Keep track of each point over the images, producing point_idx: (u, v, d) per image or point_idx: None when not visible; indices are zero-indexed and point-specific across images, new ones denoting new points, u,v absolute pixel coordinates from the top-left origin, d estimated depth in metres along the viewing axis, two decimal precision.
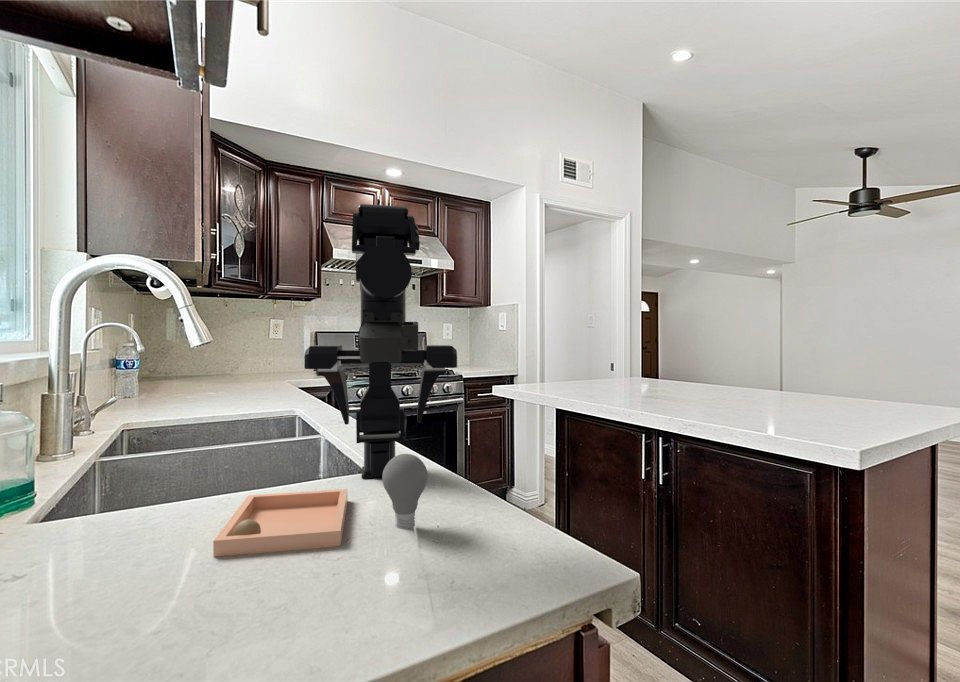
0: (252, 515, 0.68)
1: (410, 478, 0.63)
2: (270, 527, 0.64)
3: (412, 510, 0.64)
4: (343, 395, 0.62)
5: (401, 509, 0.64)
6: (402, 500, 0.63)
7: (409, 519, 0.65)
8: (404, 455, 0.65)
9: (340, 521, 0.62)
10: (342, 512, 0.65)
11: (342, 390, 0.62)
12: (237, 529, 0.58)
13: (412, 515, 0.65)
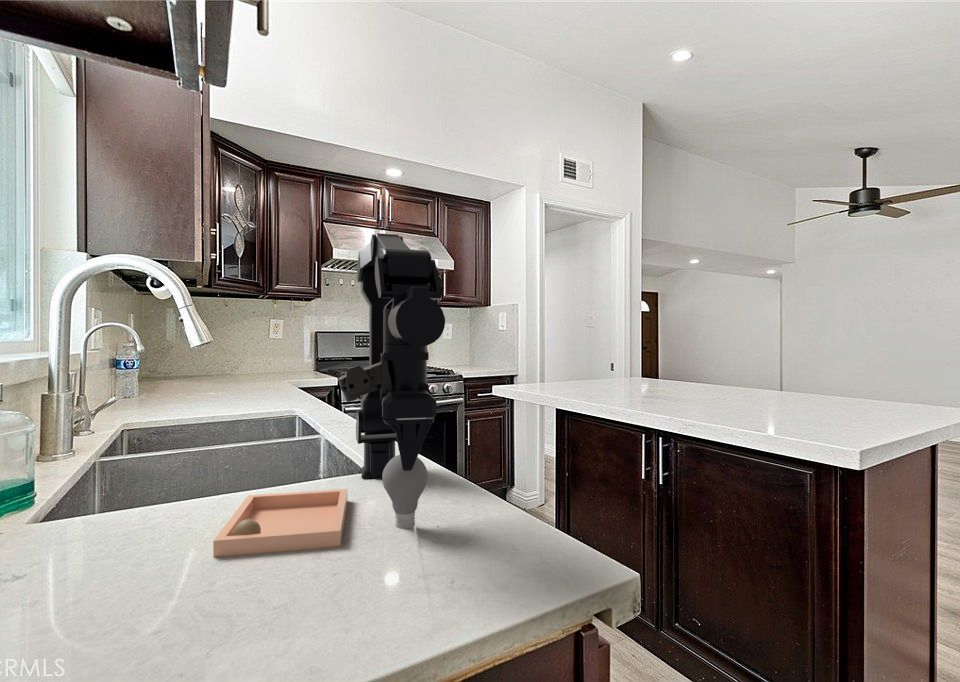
0: (252, 515, 0.68)
1: (410, 478, 0.63)
2: (270, 527, 0.64)
3: (412, 510, 0.64)
4: None
5: (401, 509, 0.64)
6: (402, 500, 0.63)
7: (409, 519, 0.65)
8: None
9: (340, 521, 0.62)
10: (342, 512, 0.65)
11: None
12: (237, 529, 0.58)
13: (412, 515, 0.65)
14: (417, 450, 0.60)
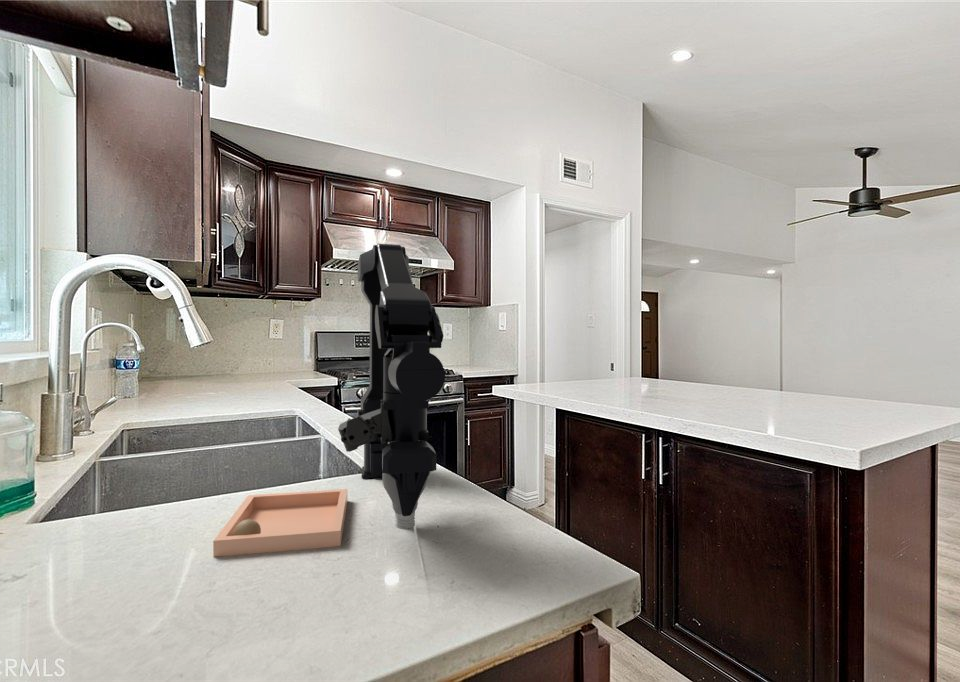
0: (252, 515, 0.68)
1: None
2: (270, 527, 0.64)
3: None
4: None
5: None
6: None
7: (409, 519, 0.65)
8: None
9: (340, 521, 0.62)
10: (342, 512, 0.65)
11: None
12: (237, 529, 0.58)
13: (412, 515, 0.65)
14: (416, 496, 0.62)
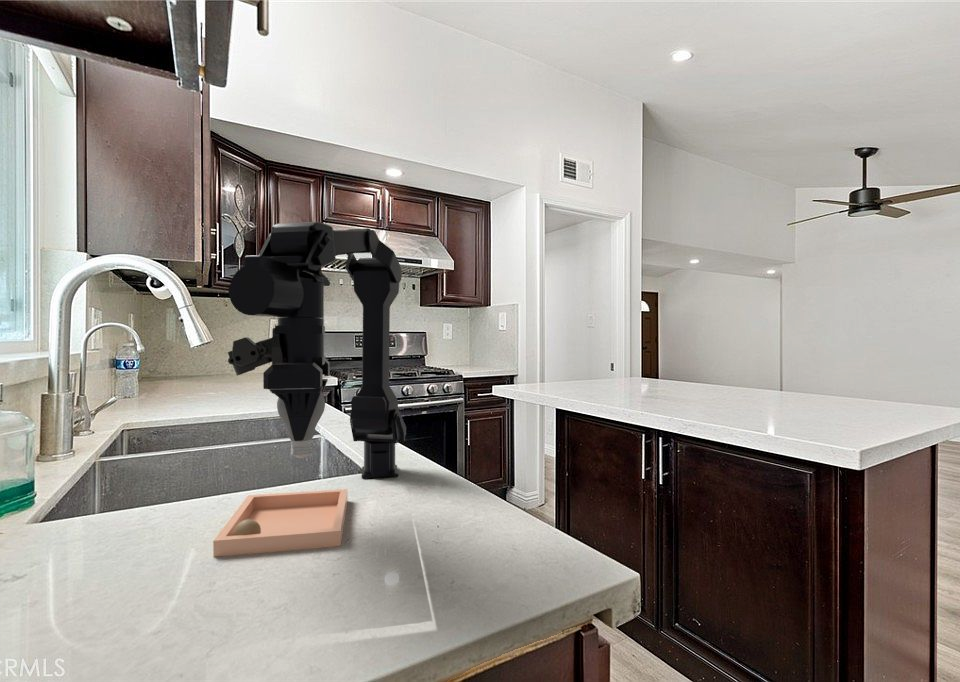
0: (252, 515, 0.68)
1: None
2: (270, 527, 0.64)
3: (307, 437, 0.64)
4: None
5: None
6: None
7: (304, 446, 0.64)
8: None
9: (340, 521, 0.62)
10: (342, 512, 0.65)
11: None
12: (237, 529, 0.58)
13: (308, 442, 0.64)
14: (307, 420, 0.61)
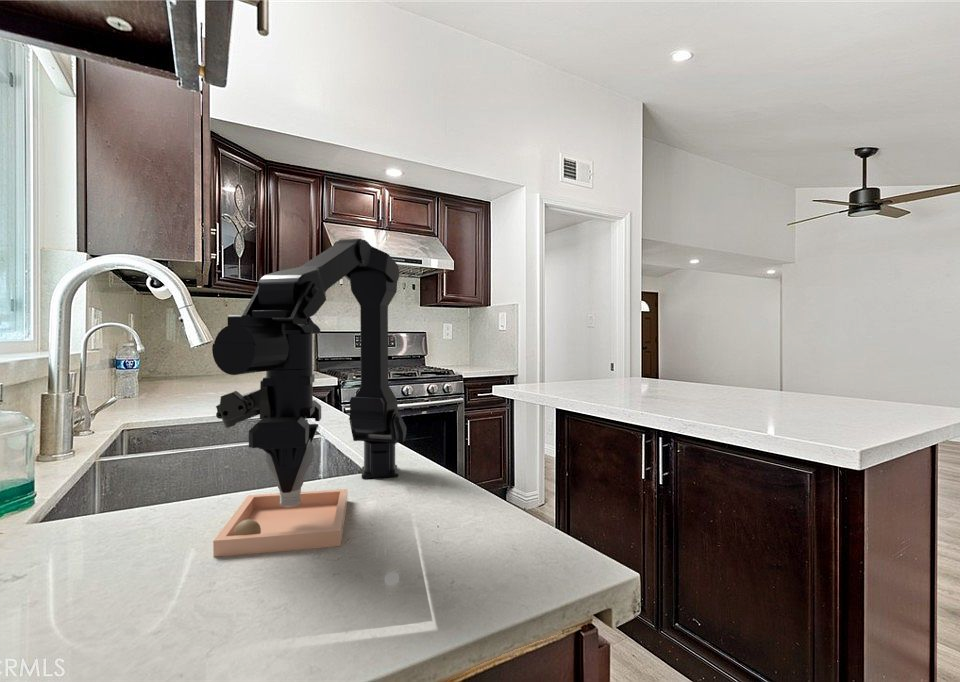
0: (252, 515, 0.68)
1: None
2: (270, 527, 0.64)
3: (295, 487, 0.64)
4: None
5: None
6: None
7: (293, 496, 0.64)
8: None
9: (340, 521, 0.62)
10: (342, 512, 0.65)
11: None
12: (237, 529, 0.58)
13: (296, 492, 0.65)
14: (295, 473, 0.62)
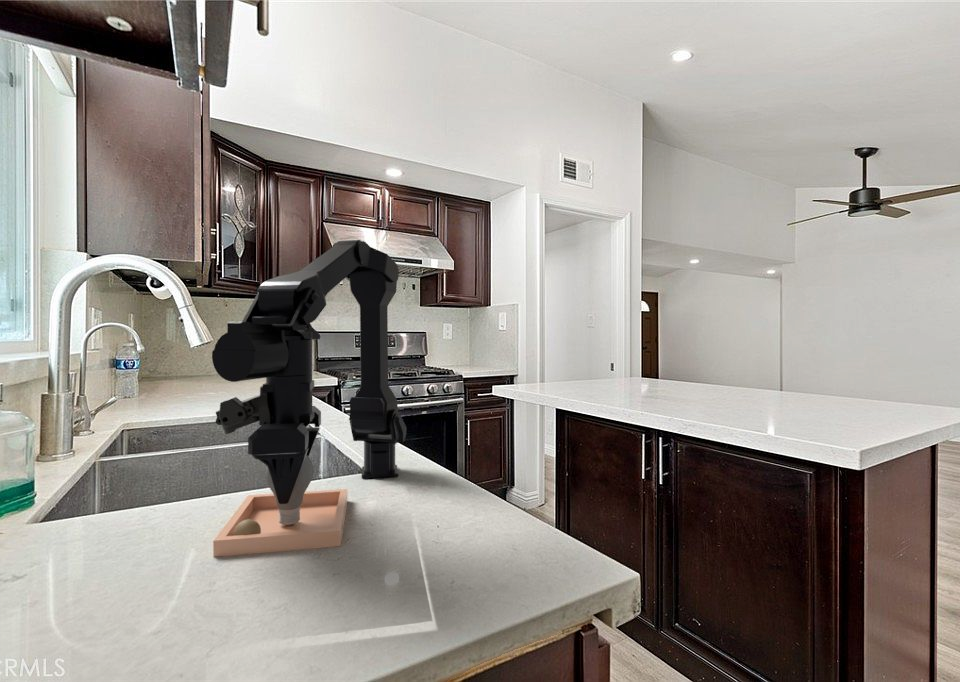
0: (252, 515, 0.68)
1: None
2: (270, 527, 0.64)
3: (295, 506, 0.64)
4: None
5: (283, 505, 0.64)
6: None
7: (292, 514, 0.64)
8: None
9: (340, 521, 0.62)
10: (342, 512, 0.65)
11: None
12: (237, 529, 0.58)
13: (295, 511, 0.65)
14: (292, 483, 0.60)
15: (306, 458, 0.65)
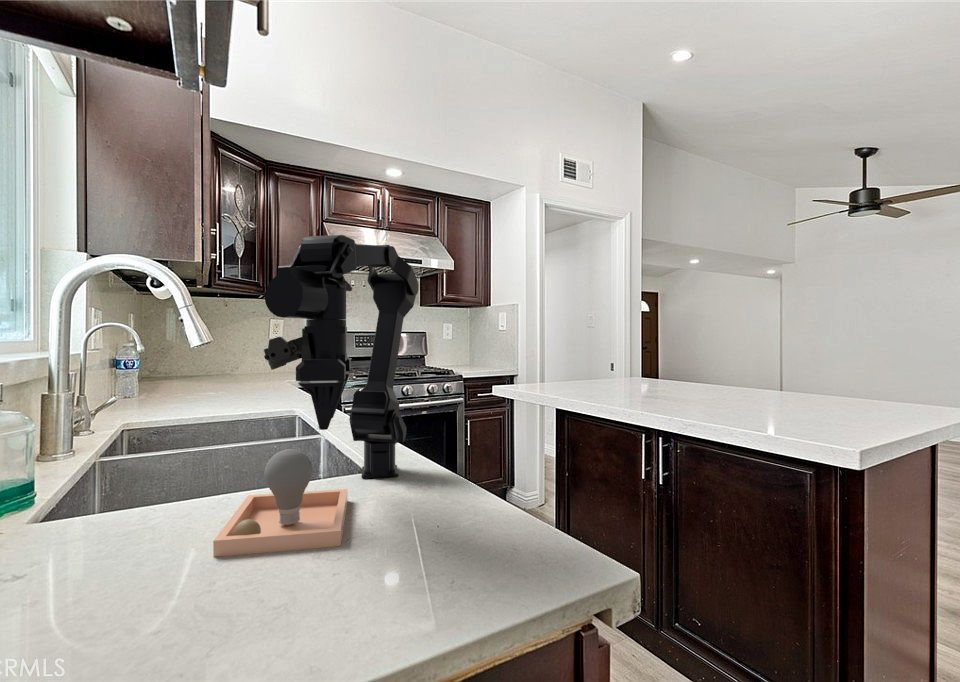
0: (252, 515, 0.68)
1: (289, 473, 0.63)
2: (270, 527, 0.64)
3: (294, 505, 0.64)
4: None
5: (282, 504, 0.64)
6: (282, 495, 0.63)
7: (292, 514, 0.64)
8: (287, 450, 0.65)
9: (340, 521, 0.62)
10: (342, 512, 0.65)
11: None
12: (237, 529, 0.58)
13: (295, 510, 0.65)
14: (331, 411, 0.68)
15: (305, 457, 0.65)
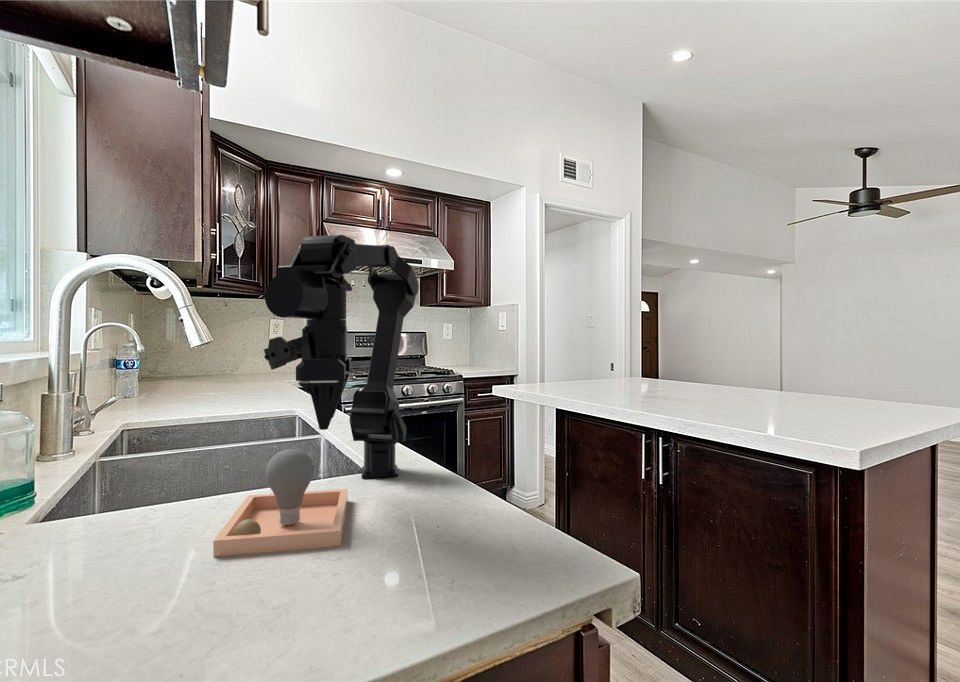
0: (252, 515, 0.68)
1: (290, 472, 0.63)
2: (270, 527, 0.64)
3: (295, 505, 0.64)
4: None
5: (283, 504, 0.64)
6: (283, 495, 0.63)
7: (292, 514, 0.64)
8: (288, 450, 0.65)
9: (340, 521, 0.62)
10: (342, 512, 0.65)
11: None
12: (237, 529, 0.58)
13: (295, 510, 0.65)
14: (331, 411, 0.68)
15: (306, 457, 0.65)
